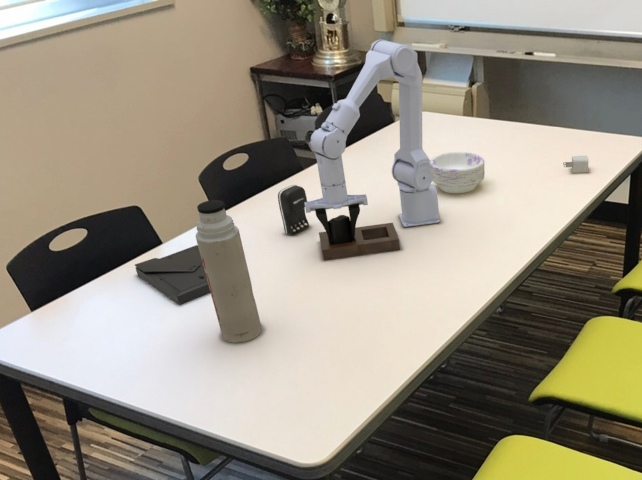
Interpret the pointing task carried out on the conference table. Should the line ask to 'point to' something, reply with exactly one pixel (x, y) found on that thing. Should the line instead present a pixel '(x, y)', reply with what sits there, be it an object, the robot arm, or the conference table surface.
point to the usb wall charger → (578, 164)
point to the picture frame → (177, 275)
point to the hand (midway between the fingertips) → (341, 235)
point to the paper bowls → (457, 171)
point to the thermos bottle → (227, 273)
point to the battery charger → (293, 209)
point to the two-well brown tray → (362, 242)
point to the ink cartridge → (340, 230)
